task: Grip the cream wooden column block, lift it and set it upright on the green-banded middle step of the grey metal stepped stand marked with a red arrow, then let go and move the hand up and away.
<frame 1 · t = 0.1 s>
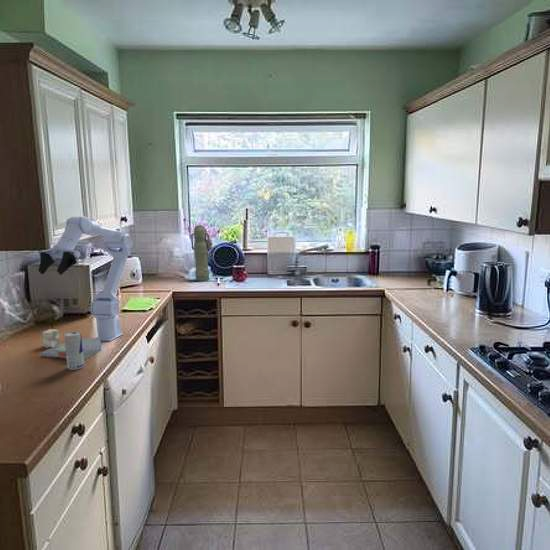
hand: (49, 272, 165), 32 cm above the worktop, tool tilted 50°, fingers open, 7 cm apart
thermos: (202, 280, 315), on the worktop
stepped stand: (72, 353, 180), on the worktop
column block: (51, 345, 189), on the worktop
energy drink: (76, 368, 165), on the worktop
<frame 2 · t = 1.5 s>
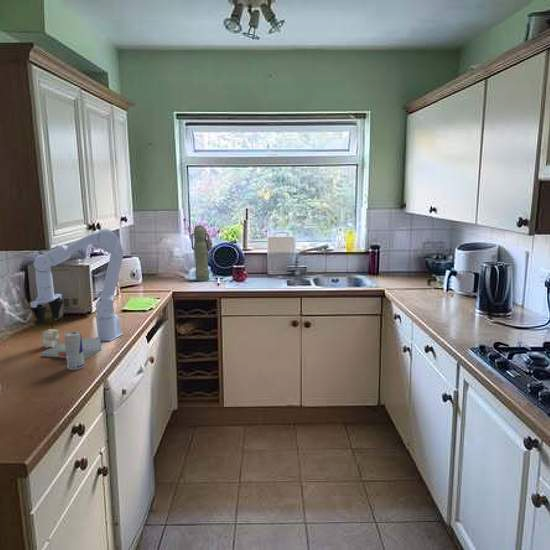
hand: (49, 321, 187), 10 cm above the worktop, tool pointing down, fingers open, 7 cm apart
nothing on the worktop moved.
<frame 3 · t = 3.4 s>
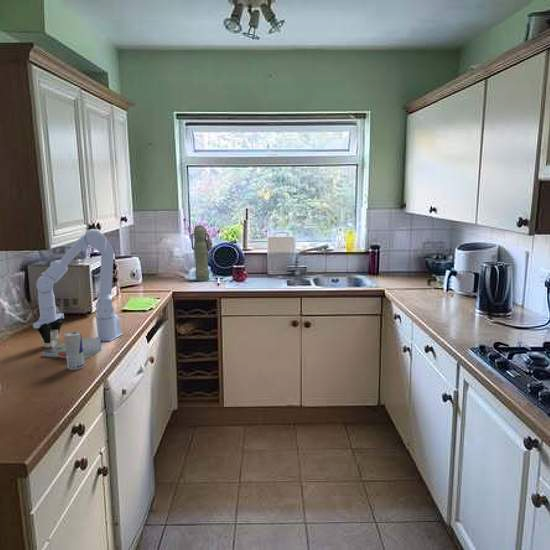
hand: (51, 341, 189), 2 cm above the worktop, tool pointing down, fingers closed on column block, 4 cm apart
column block: (51, 345, 189), on the worktop, touching gripper
everything else where it was.
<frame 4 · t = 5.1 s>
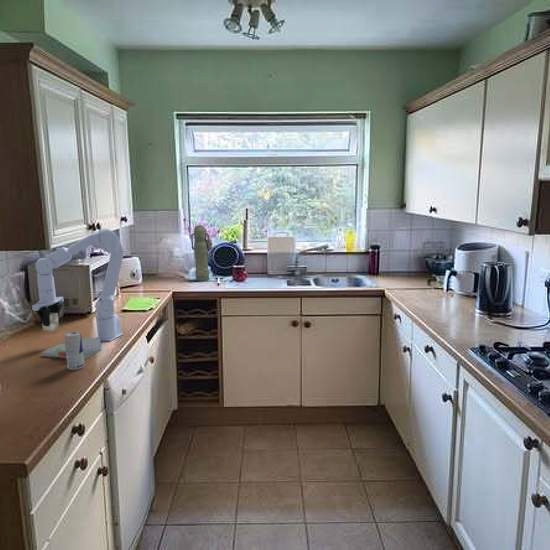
hand: (50, 324, 187), 9 cm above the worktop, tool pointing down, fingers closed on column block, 4 cm apart
column block: (51, 329, 187), point 7 cm above the worktop, touching gripper
everything else where it was.
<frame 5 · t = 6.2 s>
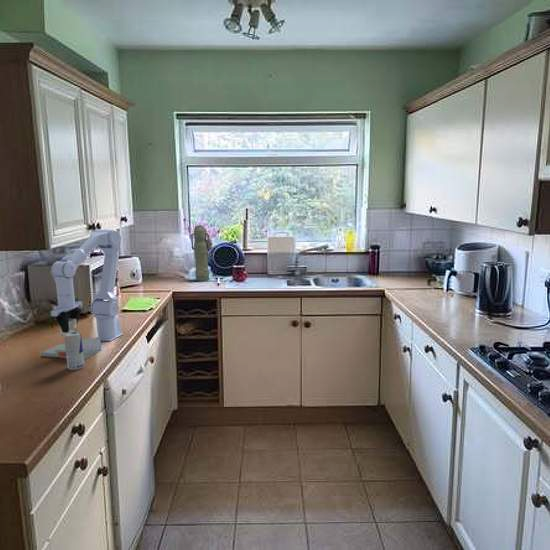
hand: (69, 330, 178), 9 cm above the worktop, tool pointing down, fingers closed on column block, 4 cm apart
column block: (69, 335, 178), point 7 cm above the worktop, touching gripper
everything else where it was.
when the fingers open (6 cm above the worktop, at t = 7.1 s): column block drops 1 cm, resting on stepped stand.
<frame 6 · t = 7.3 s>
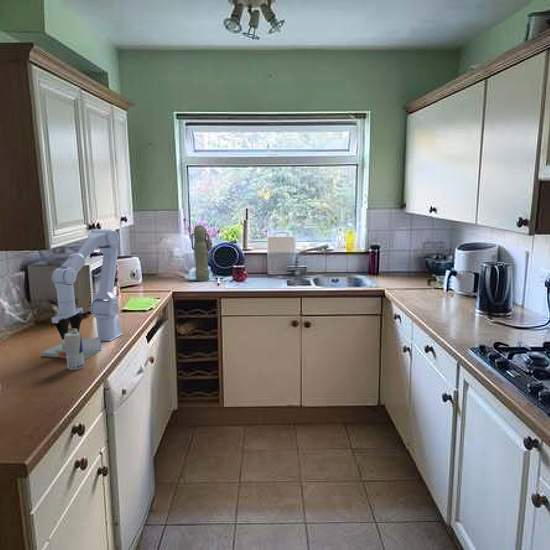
hand: (70, 336, 178), 6 cm above the worktop, tool pointing down, fingers open, 5 cm apart
column block: (70, 345, 179), point 3 cm above the worktop, touching stepped stand
everything else where it was.
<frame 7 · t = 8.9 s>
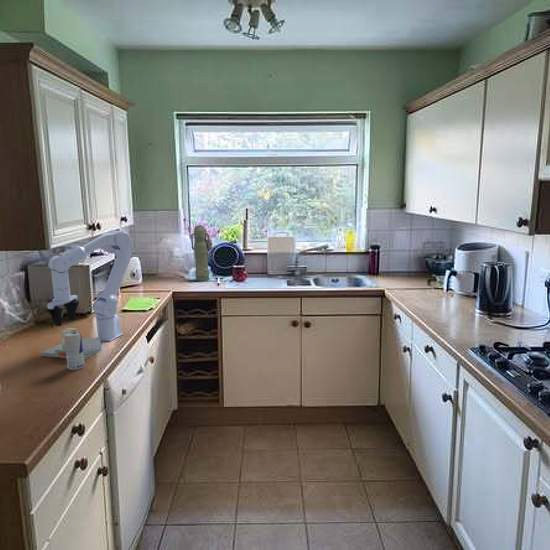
hand: (65, 322, 185), 10 cm above the worktop, tool pointing down, fingers open, 7 cm apart
nothing on the worktop moved.
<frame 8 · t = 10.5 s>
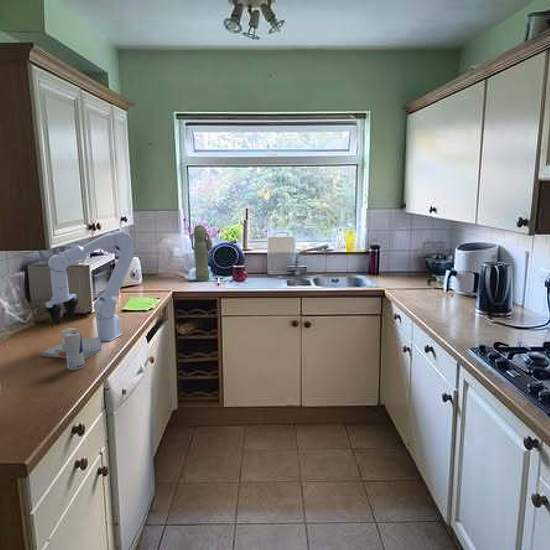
hand: (63, 321, 187), 10 cm above the worktop, tool pointing down, fingers open, 7 cm apart
nothing on the worktop moved.
at the end: column block 0.2 cm off-centre on the stepped stand, point 3.0 cm above the stepped stand's base; column block tilted 0°; the gripper is holding nothing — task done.
